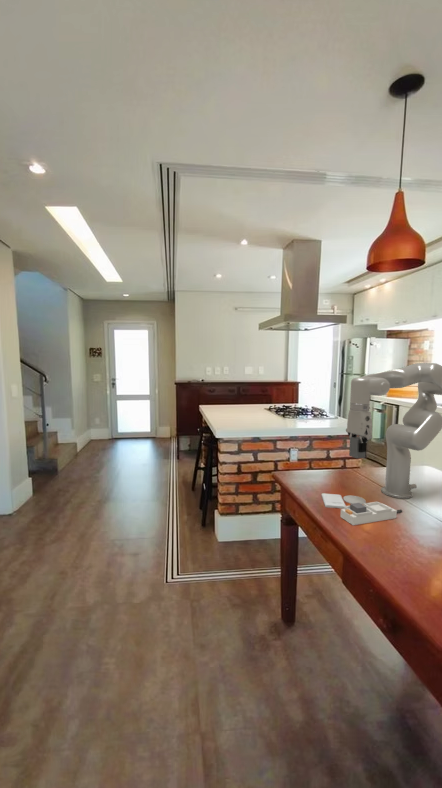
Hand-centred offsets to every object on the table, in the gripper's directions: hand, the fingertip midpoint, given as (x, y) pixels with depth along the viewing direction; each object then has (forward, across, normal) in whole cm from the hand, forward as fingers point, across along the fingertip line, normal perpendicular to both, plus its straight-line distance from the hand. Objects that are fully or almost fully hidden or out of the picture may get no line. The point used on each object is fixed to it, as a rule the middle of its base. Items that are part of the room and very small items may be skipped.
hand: (357, 449), depth 142 cm
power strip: (+22, -15, +3) cm, 27 cm away
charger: (+3, 0, 0) cm, 3 cm away
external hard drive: (+23, +2, +10) cm, 25 cm away
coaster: (+22, 0, 0) cm, 22 cm away
